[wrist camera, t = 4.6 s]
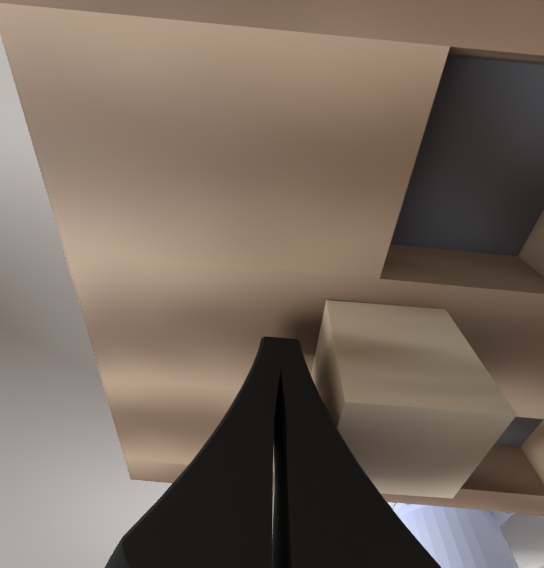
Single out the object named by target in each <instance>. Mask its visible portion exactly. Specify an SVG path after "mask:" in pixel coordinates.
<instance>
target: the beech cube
mask: <svg viewBox="0 0 544 568" xmlns="http://www.w3.org/2000/svg"><path fill="white" fill-rule="evenodd" d="M311 377H312V379H313V381H314V384H315V386H316V388H317V390H318V393H319V395H320V397H321V399H322V401H323V403H324V405H325V407H326V409H327V411H328V413H329V415H330V417H331V419H332V420H333V422H334V424H335V426H336V428H337V429H338V431H339V433H340V435H341V436H342V438H343V439H344V441H345V443H346V444H347V446H348V448H349V449H350V451H351V452H352V454H353V455H354V457H355V458H356V460H357V461H358V463H359V464H360V466H361V467H362V469H363V470H364V472H365V473H366V474H367V476H368V477H369V478H370V480H371V481H372V483H373V484H374V485H375V487H376V488H377V489H378V491H379V492H380V493H381V494H395V495H410V496H425V497H439V498H453V497H454V496H455V495H456V493H457V492H458V491H459V489H460V488H461V487H462V486H463V484H464V483H465V482H466V480H467V479H468V478H469V476H470V475H471V474H472V473H473V471H474V470H475V469H476V467H477V466H478V465H479V463H480V462H481V461H482V460H483V458H484V457H485V456H486V454H487V453H488V452H489V450H490V449H491V448H492V447H493V445H494V444H495V443H496V441H497V440H498V439H499V437H500V436H501V435H502V434H503V432H504V431H505V430H506V428H507V427H508V426H509V424H510V423H511V422H512V421H513V419H514V418H515V417H516V415H517V414H516V412H515V411H514V409H513V408H512V407H511V405H510V404H509V402H508V401H507V399H506V398H505V396H504V395H503V393H502V392H501V390H500V389H499V387H498V386H497V384H496V383H495V381H494V380H493V378H492V377H491V376H490V374H489V373H488V371H487V370H486V368H485V367H484V365H483V364H482V362H481V361H480V359H479V358H478V356H477V355H476V353H475V352H474V350H473V349H472V348H471V346H470V345H469V343H468V342H467V340H466V339H465V337H464V336H463V334H462V333H461V331H460V330H459V328H458V327H457V325H456V324H455V322H454V321H453V319H452V318H451V317H450V315H449V314H448V312H447V311H446V309H434V308H421V307H408V306H395V305H382V304H370V303H357V302H344V301H331V300H326V303H325V308H324V313H323V318H322V323H321V328H320V333H319V338H318V343H317V348H316V353H315V357H314V362H313V367H312V372H311Z"/></svg>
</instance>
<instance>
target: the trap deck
mask: <svg viewBox="0 0 544 568" xmlns="http://www.w3.org/2000/svg"><path fill="white" fill-rule="evenodd" d="M0 34H1V37H2V41H3V44H4V47H5V51H6V54H7V58H8V61H9V65H10V68H11V71H12V75H13V78H14V82H15V85H16V88H17V92H18V95H19V99H20V102H21V105H22V109H23V112H24V116H25V119H26V123H27V126H28V130H29V133H30V136H31V140H32V143H33V147H34V150H35V153H36V157H37V160H38V164H39V167H40V170H41V173H42V177H43V181H44V184H45V187H46V191H47V194H48V198H49V201H50V205H51V208H52V212H53V215H54V218H55V222H56V225H57V229H58V232H59V235H60V239H61V242H62V246H63V249H64V252H65V256H66V259H67V263H68V266H69V269H70V273H71V277H72V280H73V283H74V287H75V290H76V293H77V297H78V300H79V304H80V307H81V311H82V314H83V317H84V321H85V324H86V327H87V331H88V335H89V338H90V341H91V345H92V348H93V352H94V355H95V359H96V362H97V365H98V369H99V372H100V376H101V379H102V382H103V385H104V389H105V393H106V396H107V399H108V403H109V406H110V410H111V413H112V417H113V420H114V424H115V427H116V430H117V434H118V437H119V441H120V444H121V447H122V451H123V454H124V458H125V461H126V464H127V468H128V471H129V475H130V478H131V479H133V480H144V481H155V482H167V483H174V481H175V480H176V479H177V478H178V477H179V476H180V474H181V473H182V472H183V471H184V470H185V469H186V467H187V466H188V465H189V464H190V463H191V461H192V460H193V459H194V457H195V456H196V455H197V454H198V452H199V451H200V450H201V448H202V447H203V446H204V444H205V443H206V442H207V440H208V439H209V438H210V436H211V435H212V433H213V432H214V431H215V429H216V428H217V426H218V425H219V423H220V422H221V420H222V419H223V417H224V416H225V414H226V413H227V411H228V409H229V408H230V406H231V404H232V403H233V401H234V399H235V398H236V396H237V394H238V392H239V391H240V389H241V387H242V385H243V383H244V381H245V379H246V377H247V375H248V373H249V371H250V369H251V367H252V365H253V362H254V360H255V357H256V355H257V352H258V349H259V346H260V341H261V338H263V337H264V336H267V337H278V338H290V339H298V340H299V342H300V344H301V348H302V352H303V355H304V358H305V361H306V364H307V367H308V369H309V372H310V374H311V372H312V367H313V362H314V357H315V353H316V348H317V343H318V338H319V333H320V328H321V323H322V318H323V313H324V308H325V303H326V300H331V301H344V302H357V303H370V304H382V305H395V306H408V307H421V308H434V309H446V311H447V312H448V314H449V315H450V317H451V318H452V319H453V321H454V322H455V324H456V325H457V327H458V328H459V330H460V331H461V333H462V334H463V336H464V337H465V339H466V340H467V342H468V343H469V345H470V346H471V348H472V349H473V350H474V352H475V353H476V355H477V356H478V358H479V359H480V361H481V362H482V364H483V365H484V367H485V368H486V370H487V371H488V373H489V374H490V376H491V377H492V378H493V380H494V381H495V383H496V384H497V386H498V387H499V389H500V390H501V392H502V393H503V395H504V396H505V398H506V399H507V401H508V402H509V404H510V405H511V407H512V408H513V409H514V411H515V412H516V414H517V415H516V417H515V418H514V419H513V421H512V422H511V423H510V424H509V426H508V427H507V428H506V430H505V431H504V432H503V434H502V435H501V436H500V437H499V439H498V440H497V441H496V443H495V444H494V445H493V447H492V448H491V449H490V450H489V452H488V453H487V454H486V456H485V457H484V458H483V460H482V461H481V462H480V463H479V465H478V466H477V467H476V469H475V470H474V471H473V473H472V474H471V475H470V476H469V478H468V479H467V480H466V482H465V483H464V484H463V486H462V487H461V488H460V489H459V491H458V492H457V493H456V495H455V496H454V497H453V498H439V497H425V496H410V495H395V494H381V493H380V494H381V495H382V496H383V498H384V499H385V500H386V502H394V503H406V504H417V505H428V506H440V507H451V508H462V509H474V510H485V511H497V512H508V513H519V514H531V515H542V516H544V0H0ZM273 492H275V472H274V445H273Z"/></svg>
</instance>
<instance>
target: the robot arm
mask: <svg viewBox="0 0 544 568" xmlns="http://www.w3.org/2000/svg"><path fill="white" fill-rule="evenodd" d="M273 445H274V472H275V494H274V517H273V537H272V496H273ZM514 514H515V513H508V512H497V511H485V510H474V509H462V508H451V507H440V506H428V505H417V504H406V503H396V505H395V506H394V508H393V509H392V508H391V507H390V505H389V504H388V503H387V502H386V500H385V499H384V498H383V496H382V495H381V494H380V492H379V491H378V489H377V488H376V487H375V485H374V484H373V483H372V481H371V480H370V478H369V477H368V476H367V474H366V473H365V472H364V470H363V469H362V467H361V466H360V464H359V463H358V461H357V460H356V458H355V457H354V455H353V454H352V452H351V451H350V449H349V448H348V446H347V444H346V443H345V441H344V439H343V438H342V436H341V435H340V433H339V431H338V429H337V428H336V426H335V424H334V422H333V420H332V419H331V417H330V415H329V413H328V411H327V409H326V407H325V405H324V403H323V401H322V399H321V397H320V395H319V393H318V390H317V388H316V386H315V384H314V381H313V379H312V377H311V374H310V372H309V369H308V367H307V364H306V361H305V358H304V355H303V352H302V348H301V344H300V342H299V340H298V339H290V338H278V337H267V336H264V337H263V338H261V341H260V346H259V349H258V352H257V355H256V357H255V360H254V362H253V365H252V367H251V369H250V371H249V373H248V375H247V377H246V379H245V381H244V383H243V385H242V387H241V389H240V391H239V392H238V394H237V396H236V398H235V399H234V401H233V403H232V404H231V406H230V408H229V409H228V411H227V413H226V414H225V416H224V417H223V419H222V420H221V422H220V423H219V425H218V426H217V428H216V429H215V431H214V432H213V433H212V435H211V436H210V438H209V439H208V440H207V442H206V443H205V444H204V446H203V447H202V448H201V450H200V451H199V452H198V454H197V455H196V456H195V457H194V459H193V460H192V461H191V463H190V464H189V465H188V466H187V467H186V469H185V470H184V471H183V472H182V473H181V474H180V476H179V477H178V478H177V479H176V480H175V481H174V483H173V484H172V485H171V486H170V487H169V488H168V489H167V491H166V492H165V493H164V494H163V495H162V496H161V497H160V499H159V500H158V501H157V502H156V503H155V504H154V505H153V506H152V507H151V508H150V509H149V510H148V511H147V512H146V513H145V514H144V515H143V516H142V517H141V518H140V520H139V521H138V522H137V523H136V524H135V525H134V526H133V527H132V528H131V529H130V530H129V531H128V532H127V533H126V534H125V535H124V536H123V537H122V539H121V541H120V542H119V544H118V546H117V547H116V549H115V550H114V552H113V554H112V555H111V557H110V559H109V561H108V563H107V564H106V566H105V568H519V567H518V565H517V563H516V561H515V558H514V556H513V554H512V552H511V550H510V548H509V545H508V543H507V541H506V539H505V537H504V535H503V532H502V530H501V528H500V527H501V526H502V525H503V524H504V523H505V522H506V521H507V520H508V519H509V518H510V517H512V516H513V515H514Z"/></svg>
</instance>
